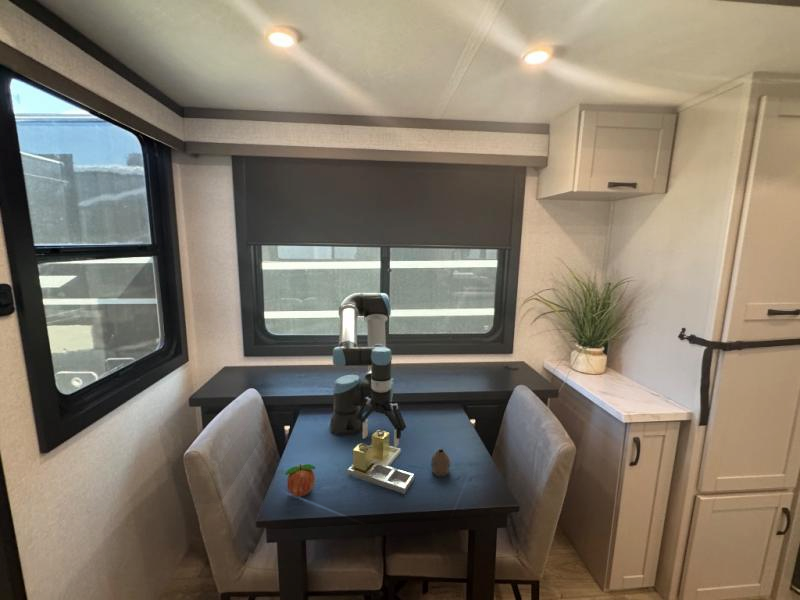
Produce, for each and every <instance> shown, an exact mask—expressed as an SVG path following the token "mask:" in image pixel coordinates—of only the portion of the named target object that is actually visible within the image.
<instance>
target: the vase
mask: <svg viewBox="0 0 800 600" xmlns="http://www.w3.org/2000/svg"><path fill="white" fill-rule="evenodd" d="M430 469H431V471H432V473H433V474H434V475H435V476H437V477H445V476H447V475H448V474H449V472H450V469H451V461H450V458H449V456H448V454H447V453H446V451H445V450H444V449H443V448H442V449H441V448H439V449H438V450H437V451H436V452H435V453H434V454H433V456H432V458H431V461H430Z"/></svg>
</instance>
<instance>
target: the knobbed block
mask: <svg viewBox="0 0 800 600" xmlns="http://www.w3.org/2000/svg"><path fill="white" fill-rule="evenodd" d="M371 444H372V446H373V456H372V458H375V459H378V460H381V461H384V459H385V458H386V457H387V456H388V455H389V446H390V432H388V431H385V430H380V429H377V430H376V431H374V433H372V435H371Z"/></svg>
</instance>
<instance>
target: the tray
mask: <svg viewBox="0 0 800 600" xmlns="http://www.w3.org/2000/svg"><path fill="white" fill-rule="evenodd" d="M369 445H370V446H372V443H371V444H369ZM401 453H402V449H401V448H399V447H396V448H395V447H394V445H393V446H392V445H389V455H388V456H387V457H386V458H385V459H384V461H381V460H378V459H375V458H372V461H373V462H376V463H380V464H383V465H386V466H389V467H391V465H392V464H393V462H394V461H396V459H397V457H398V456H399V455H400V454H401Z"/></svg>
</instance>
